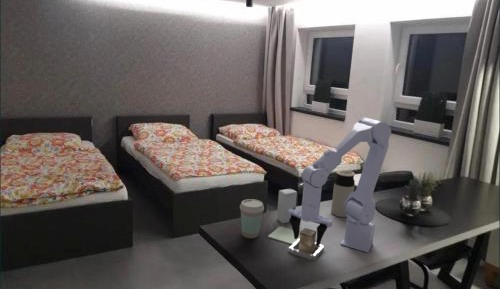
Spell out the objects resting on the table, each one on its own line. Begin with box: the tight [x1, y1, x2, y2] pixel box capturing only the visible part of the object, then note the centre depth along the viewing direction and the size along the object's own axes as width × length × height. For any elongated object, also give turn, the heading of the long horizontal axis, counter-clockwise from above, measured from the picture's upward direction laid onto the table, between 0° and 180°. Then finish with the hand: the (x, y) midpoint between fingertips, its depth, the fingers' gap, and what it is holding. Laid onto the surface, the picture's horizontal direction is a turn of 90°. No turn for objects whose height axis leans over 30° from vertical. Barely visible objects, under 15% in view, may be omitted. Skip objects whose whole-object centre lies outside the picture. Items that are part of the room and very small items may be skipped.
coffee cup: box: [239, 198, 265, 239], centre depth 133 cm, size 9×9×12 cm
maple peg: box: [298, 227, 317, 254], centre depth 125 cm, size 4×4×7 cm
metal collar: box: [288, 238, 325, 261], centre depth 125 cm, size 9×9×2 cm
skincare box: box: [276, 188, 298, 224], centre depth 147 cm, size 6×4×12 cm
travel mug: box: [330, 169, 356, 218], centre depth 156 cm, size 8×8×18 cm
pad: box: [267, 225, 301, 246], centre depth 135 cm, size 10×10×1 cm
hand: (307, 241), depth 125 cm, fingers open, 7 cm apart
